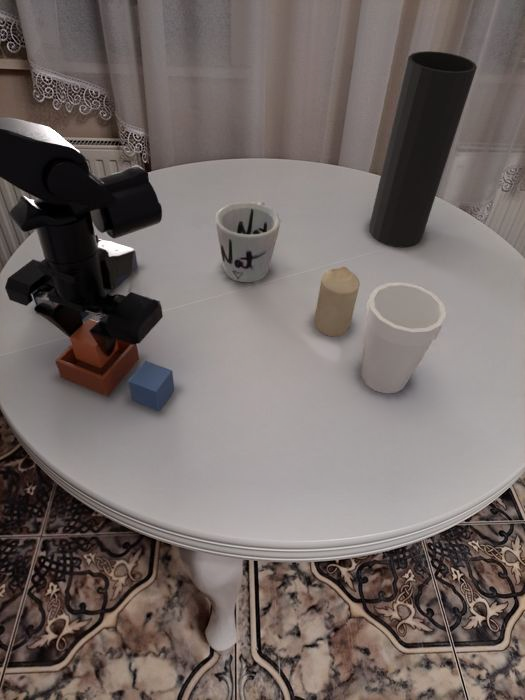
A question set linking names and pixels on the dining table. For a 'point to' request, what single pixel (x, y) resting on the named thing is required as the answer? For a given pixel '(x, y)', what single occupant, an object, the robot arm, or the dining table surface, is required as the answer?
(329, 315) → the candle
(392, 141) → the vase
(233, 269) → the mug
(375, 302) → the foam cup
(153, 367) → the slate block
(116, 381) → the terracotta bin
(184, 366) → the dining table surface
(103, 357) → the terracotta block
